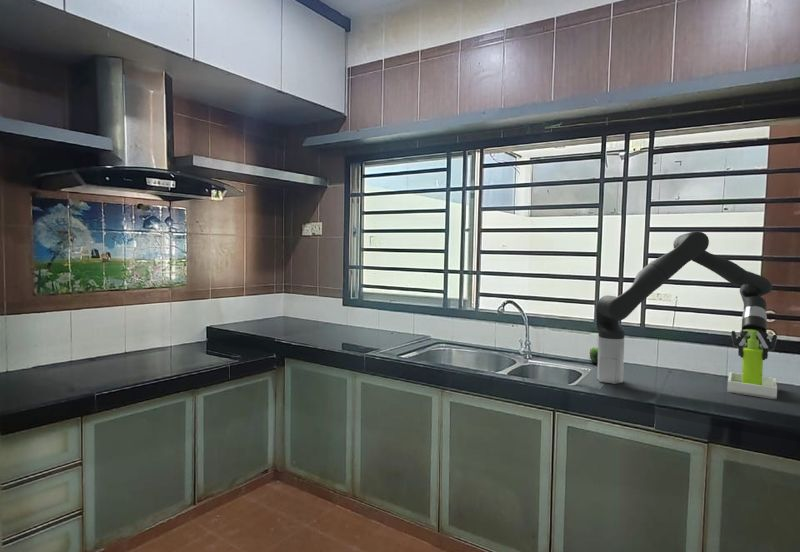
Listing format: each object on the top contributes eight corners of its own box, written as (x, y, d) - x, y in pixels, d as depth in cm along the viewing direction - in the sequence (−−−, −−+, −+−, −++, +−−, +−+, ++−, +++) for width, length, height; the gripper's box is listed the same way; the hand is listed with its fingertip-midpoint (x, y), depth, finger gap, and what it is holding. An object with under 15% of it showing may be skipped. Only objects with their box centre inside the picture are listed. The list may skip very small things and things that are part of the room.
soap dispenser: (751, 381, 176) (752, 328, 175) (766, 386, 169) (767, 331, 168) (735, 381, 176) (737, 328, 175) (750, 387, 169) (751, 331, 168)
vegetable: (595, 346, 209) (592, 339, 228) (587, 360, 210) (584, 352, 229) (611, 355, 207) (606, 347, 226) (603, 369, 208) (599, 359, 227)
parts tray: (776, 399, 162) (777, 388, 162) (727, 392, 170) (727, 381, 170) (774, 388, 175) (775, 378, 175) (728, 382, 183) (729, 372, 183)
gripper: (731, 313, 181) (728, 349, 173) (779, 316, 173) (778, 354, 164) (731, 325, 186) (728, 360, 177) (777, 328, 177) (777, 366, 169)
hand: (752, 357), depth 171 cm, fingers closed on soap dispenser, 6 cm apart
